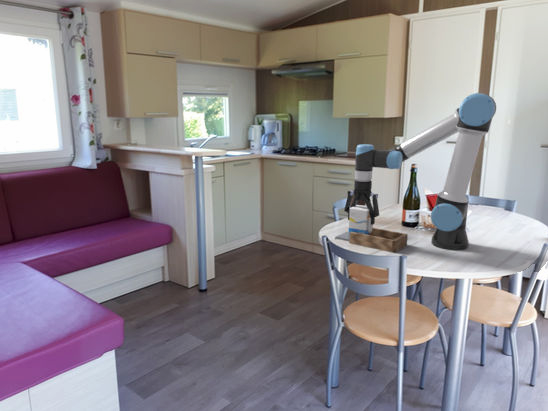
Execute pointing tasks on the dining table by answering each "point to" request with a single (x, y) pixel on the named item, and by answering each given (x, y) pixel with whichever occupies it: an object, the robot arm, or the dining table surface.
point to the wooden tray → (380, 240)
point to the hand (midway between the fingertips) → (360, 229)
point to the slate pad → (344, 236)
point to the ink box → (359, 219)
